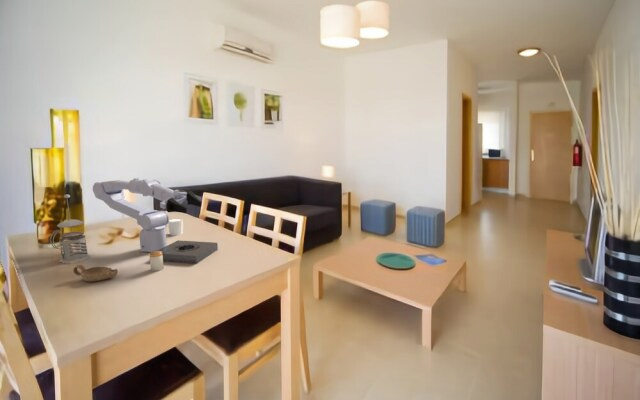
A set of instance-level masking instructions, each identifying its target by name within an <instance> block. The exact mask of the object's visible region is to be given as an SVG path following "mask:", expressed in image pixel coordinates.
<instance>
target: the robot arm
mask: <svg viewBox="0 0 640 400" xmlns="http://www.w3.org/2000/svg"><path fill="white" fill-rule="evenodd" d="M124 190H125V191H126V190H128V192H129V193H132V194H138V195H142V197H148V196H149V197H152V198H154V199H156V200H159V201H160V202H159V207H160V209H163V210H155V209H147V208H145V207H143V206H140V205H138V204H136V203H132V202H130V201H128V200H126V199H125V193H124ZM92 192H93V194H94V196H95V198H96V199H98V200H101V201H103V202H104V203H105V204H106V205H107V206H108V207H109V208H110V209H112V210H114V211H116V212H119V213H121V214H123V215H126V216H128V217H131V218H132V219H135V220H136V223H137V225H138V226H140V227H141V230H140V232H139V235H138V236H139V246H140V249H139V250H138V251H139V252H143V253H144V252H146V253H147V252H149V253H151V252H154V251H157V250H159V249H162V248H164V247H166V246H168V245H169V244H167V233H166V228H167V227H168V222H169V220H170V217H169V214H168V213H182V214H187V212H188V211H187V209H188V208H187V207H186V206H185V205H183V203H184V202H185V201H186V202H187V206H189V205H190V206H196V207H202V201H201V200H200V199H199V198H198V197H197V196H196V194H195V193H194V191H191V190H189V191H187V192H185V191H184V192H183V191H182V192H181V191H180V190H179V189H175V190H173V189H171V188H169V187H167V186H165V185H162V184H161V182H160V181H159V180H157V179H153V180H148V179H147V178H144V179H139V177H135V178H134V177H133V179H130V180H128V181H127V180H123V179H122V180H121V179H118V180H117V179H115V180H109V181H108V180H107V181H101V182H98V181H97V182H94V183H93V186H92ZM165 209H166V211H165Z"/></svg>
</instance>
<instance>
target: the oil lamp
mask: <svg viewBox="0 0 640 400" xmlns="http://www.w3.org/2000/svg"><path fill="white" fill-rule="evenodd" d="M78 268H79V269H80V271H78ZM72 272H73V274H74V275H75V276H79V277H80V276H81V278H82V280H84V281H85V282H89V283H90V282H91V283H92V282H99V281H104V280H109V279H111V278H114V277H115V276H117V275H118V273H119V272H118V269H117V268H115V269H112V267H108V266H95V267H89V268H86V267H85V266H84V265H82V264H77V265H75V266H74V267H73V270H72Z"/></svg>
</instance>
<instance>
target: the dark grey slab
mask: <svg viewBox="0 0 640 400" xmlns="http://www.w3.org/2000/svg"><path fill="white" fill-rule="evenodd" d="M167 245H168V246H166V247H164V248H162V249H159V250H157V251H162V255H163V262H168V263H169V262H170V263H180V264H181V263H182V264H196V265H197V264H199V263H200V262H202V261H203V260H204V259H206V258H208V257H210V256H211V255H212V254H214V253H215V252H217V251H218V250H219V249H218V242H212V241H195V240H194V241H193V240H176V241H174V242H172V243H169V244H167Z"/></svg>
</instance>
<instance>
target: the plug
mask: <svg viewBox="0 0 640 400" xmlns="http://www.w3.org/2000/svg"><path fill="white" fill-rule="evenodd" d="M148 255H149V263H150V264H149V265H150V271H151V272H159V271H163V270H164V261H163V255H162V251H154V252H149V253H148Z"/></svg>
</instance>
